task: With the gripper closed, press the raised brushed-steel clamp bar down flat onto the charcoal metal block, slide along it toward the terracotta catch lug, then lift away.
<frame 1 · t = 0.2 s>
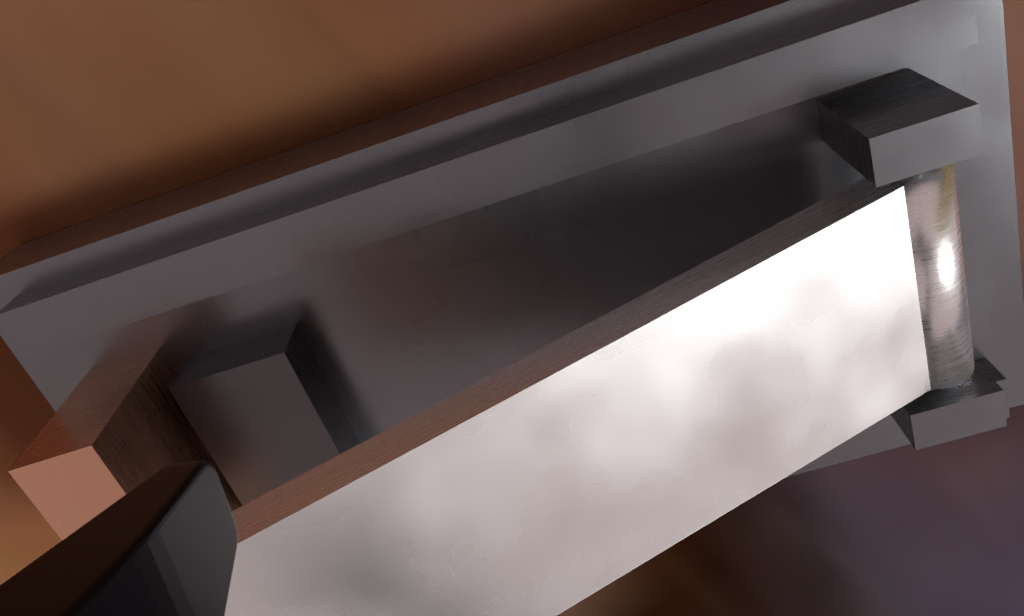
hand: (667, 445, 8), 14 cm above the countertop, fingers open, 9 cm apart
clamp bar: (611, 450, 17), point 7 cm above the countertop, hinge at 22.0°
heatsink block: (520, 301, 23), on the countertop
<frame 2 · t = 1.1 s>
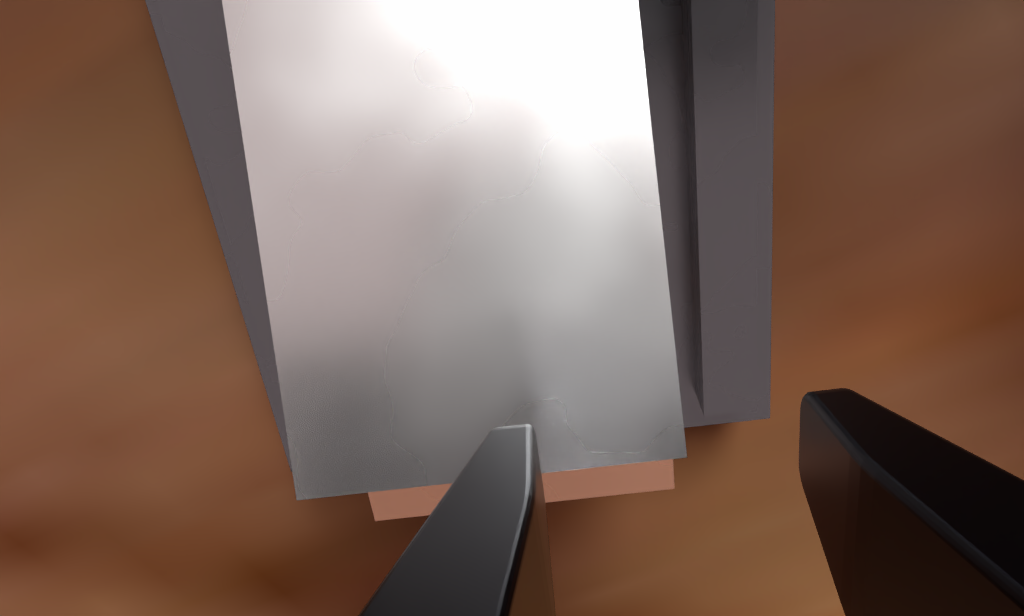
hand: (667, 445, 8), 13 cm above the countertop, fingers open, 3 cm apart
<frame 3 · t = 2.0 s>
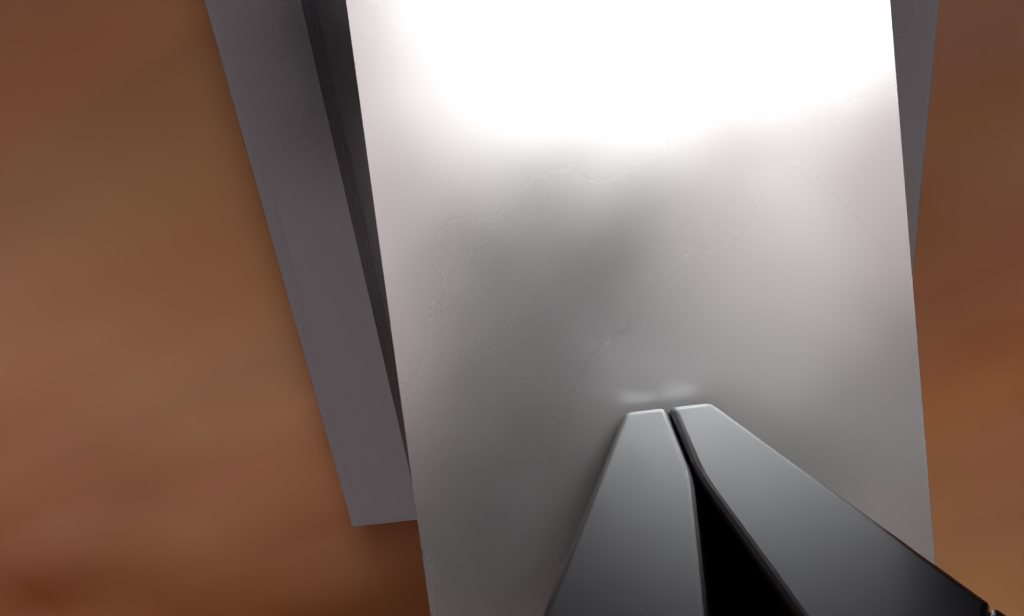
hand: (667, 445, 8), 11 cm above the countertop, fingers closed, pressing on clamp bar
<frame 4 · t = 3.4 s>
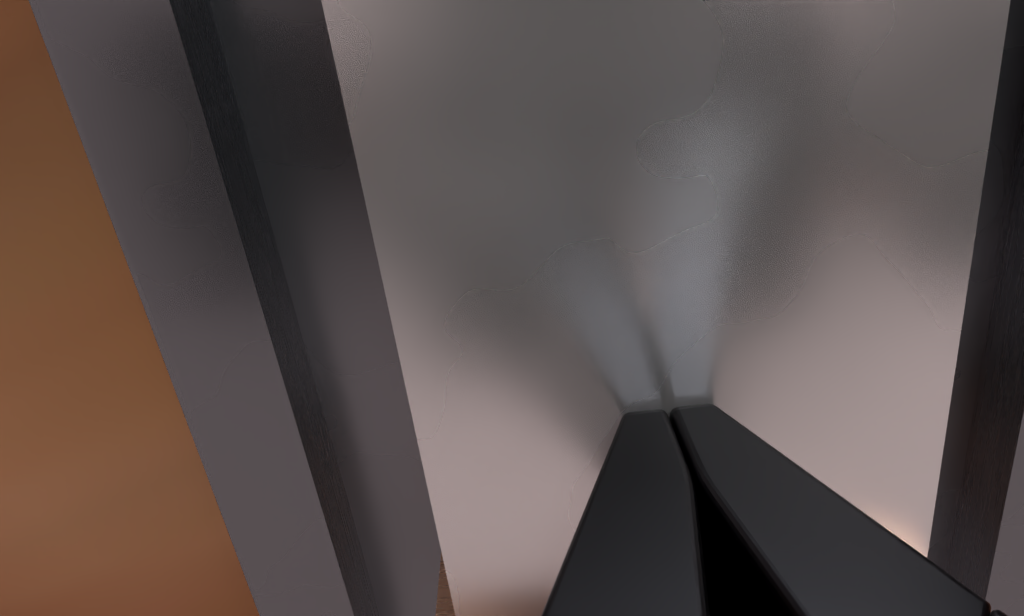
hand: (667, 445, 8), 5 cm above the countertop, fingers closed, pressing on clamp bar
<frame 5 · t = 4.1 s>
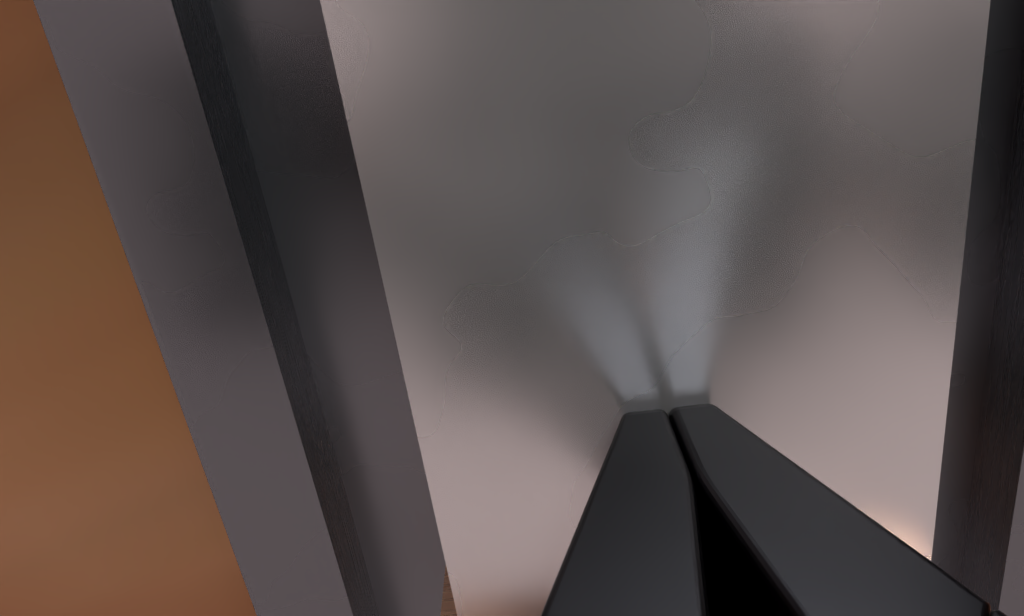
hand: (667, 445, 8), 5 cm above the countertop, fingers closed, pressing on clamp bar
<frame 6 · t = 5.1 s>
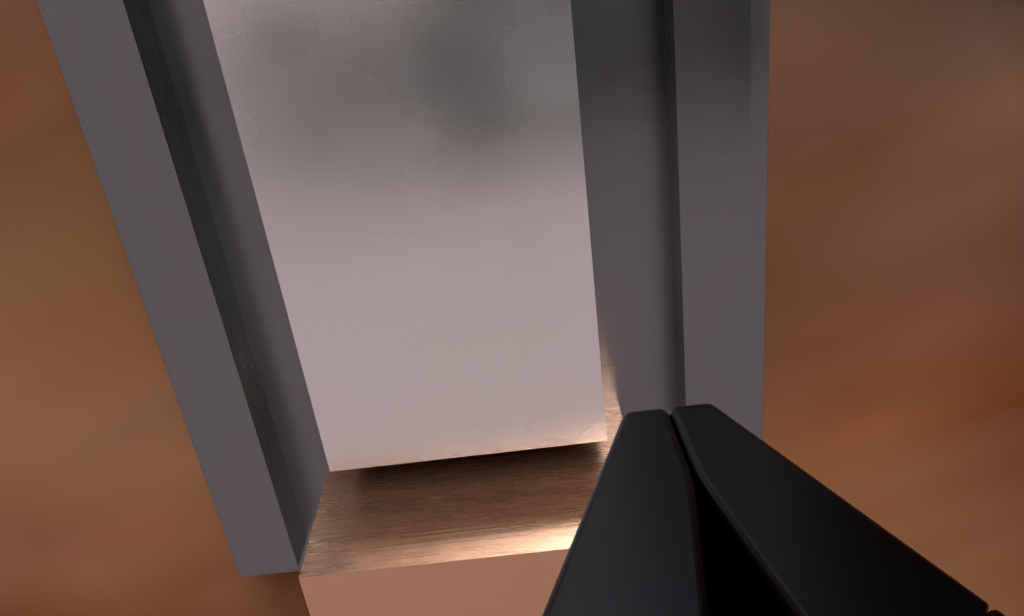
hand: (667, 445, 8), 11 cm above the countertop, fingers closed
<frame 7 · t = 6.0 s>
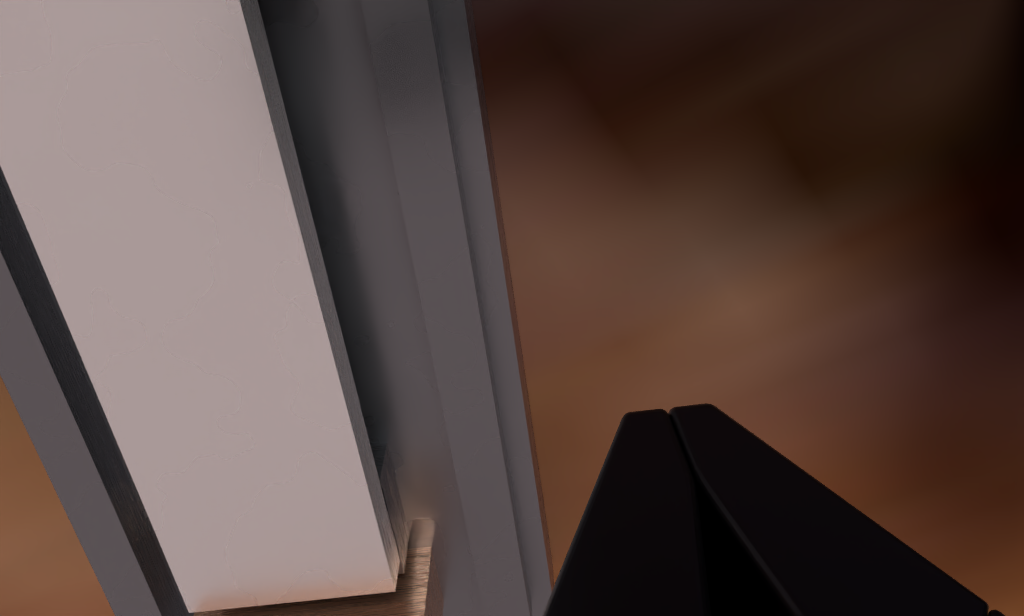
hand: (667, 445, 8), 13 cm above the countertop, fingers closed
clamp bar: (187, 263, 17), point 4 cm above the countertop, hinge at -0.1°
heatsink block: (261, 231, 21), on the countertop
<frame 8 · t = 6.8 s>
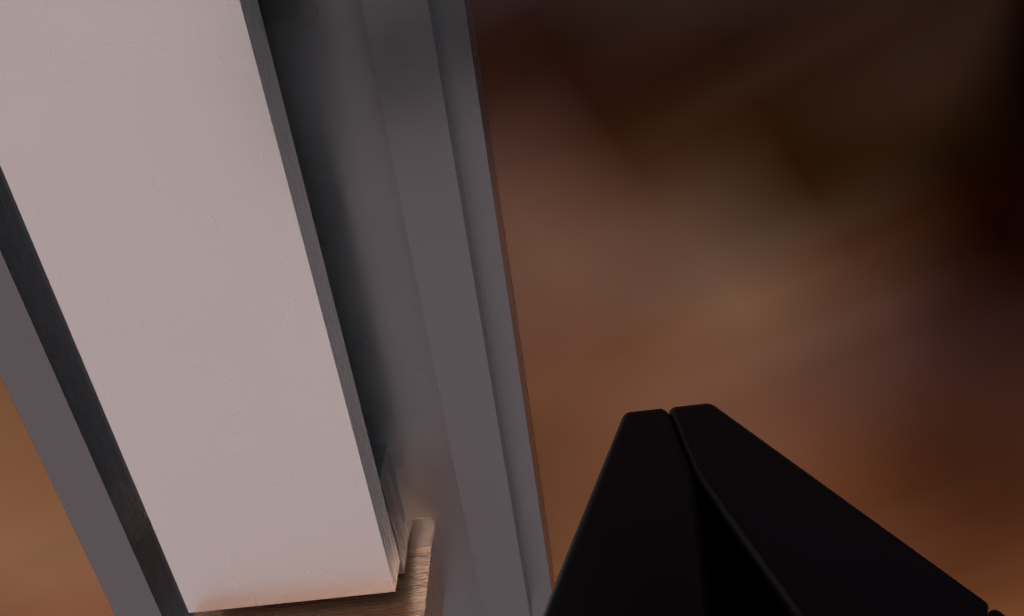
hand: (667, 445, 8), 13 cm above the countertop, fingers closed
clamp bar: (187, 263, 17), point 4 cm above the countertop, hinge at -0.1°
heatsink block: (261, 231, 21), on the countertop
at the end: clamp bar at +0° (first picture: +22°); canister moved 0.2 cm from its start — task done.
